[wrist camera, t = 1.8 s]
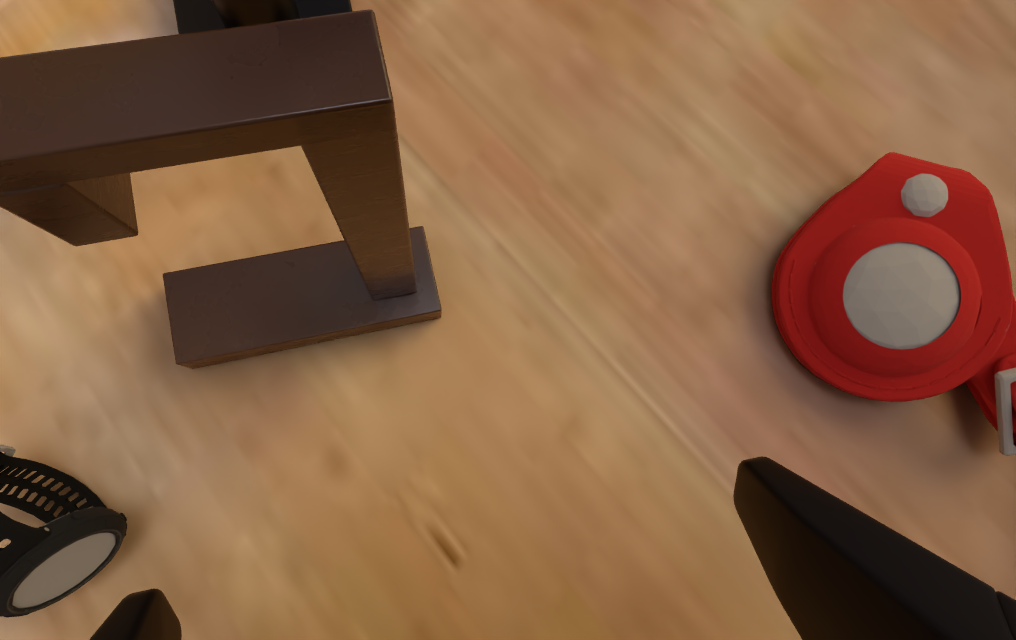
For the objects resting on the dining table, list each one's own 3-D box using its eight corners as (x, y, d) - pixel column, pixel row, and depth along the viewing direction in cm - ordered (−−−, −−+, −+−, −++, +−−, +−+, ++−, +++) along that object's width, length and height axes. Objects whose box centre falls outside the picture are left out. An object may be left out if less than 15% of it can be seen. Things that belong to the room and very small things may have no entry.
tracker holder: (748, 372, 23) (836, 113, 23) (730, 366, 28) (803, 147, 27) (1113, 489, 21) (1216, 203, 21) (1030, 463, 26) (1115, 226, 25)
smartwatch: (47, 608, 21) (-74, 661, 16) (-5, 461, 21) (-137, 468, 16) (173, 548, 21) (94, 582, 16) (119, 408, 22) (28, 401, 17)
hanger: (441, 317, 24) (449, 141, 10) (191, 369, 22) (-227, 252, 8) (423, 237, 24) (407, -43, 10) (177, 282, 23) (-239, 33, 9)
